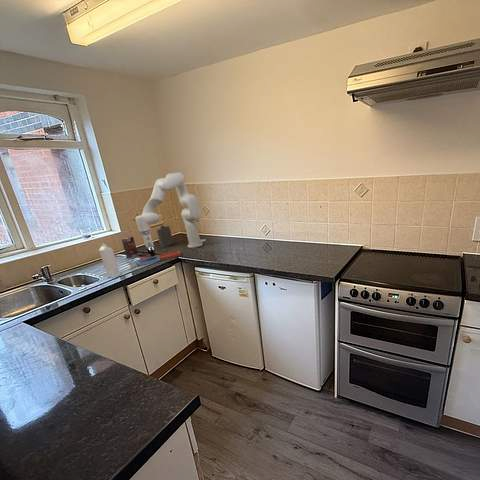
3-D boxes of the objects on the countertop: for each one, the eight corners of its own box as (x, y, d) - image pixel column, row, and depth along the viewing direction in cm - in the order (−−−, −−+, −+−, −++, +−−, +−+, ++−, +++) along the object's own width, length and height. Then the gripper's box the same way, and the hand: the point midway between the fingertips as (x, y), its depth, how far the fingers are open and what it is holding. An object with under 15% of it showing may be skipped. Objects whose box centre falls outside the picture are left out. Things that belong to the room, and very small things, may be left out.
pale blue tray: (157, 257, 230) (156, 255, 229) (160, 260, 221) (159, 258, 220) (136, 262, 223) (135, 260, 222) (139, 266, 214) (138, 263, 213)
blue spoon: (156, 258, 227) (155, 256, 226) (157, 259, 223) (157, 257, 222) (140, 262, 221) (139, 260, 221) (141, 263, 218) (140, 261, 217)
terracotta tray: (177, 252, 237) (177, 250, 237) (181, 255, 228) (181, 252, 228) (158, 257, 230) (157, 254, 230) (161, 260, 221) (160, 258, 221)
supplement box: (132, 258, 235) (126, 239, 229) (126, 259, 236) (120, 239, 230) (138, 255, 243) (133, 236, 237) (133, 255, 244) (128, 236, 238)
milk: (116, 273, 204) (106, 242, 196) (120, 274, 200) (110, 243, 192) (107, 276, 199) (97, 244, 192) (111, 278, 196) (101, 245, 188)
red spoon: (155, 255, 237) (154, 253, 237) (156, 256, 234) (155, 254, 233) (139, 258, 232) (138, 256, 231) (140, 260, 228) (139, 257, 228)
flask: (159, 247, 258) (154, 227, 252) (171, 243, 270) (166, 223, 264) (162, 247, 257) (157, 227, 250) (174, 243, 269) (169, 223, 262)
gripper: (153, 233, 210) (159, 255, 217) (148, 229, 224) (154, 251, 231) (141, 235, 207) (148, 258, 214) (138, 231, 221) (144, 253, 228)
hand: (151, 254), depth 222 cm, fingers open, 9 cm apart
